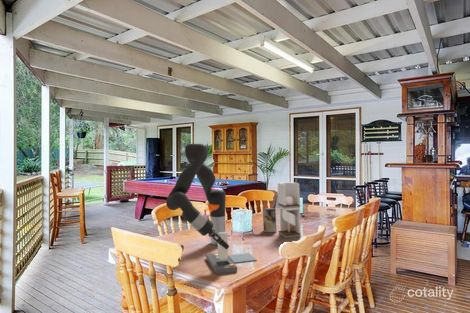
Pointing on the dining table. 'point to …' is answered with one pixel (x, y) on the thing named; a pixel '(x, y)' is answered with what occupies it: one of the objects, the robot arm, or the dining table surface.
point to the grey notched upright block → (289, 209)
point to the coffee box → (269, 219)
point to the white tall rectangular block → (221, 250)
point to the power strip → (221, 264)
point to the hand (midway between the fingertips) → (226, 246)
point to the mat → (242, 258)
